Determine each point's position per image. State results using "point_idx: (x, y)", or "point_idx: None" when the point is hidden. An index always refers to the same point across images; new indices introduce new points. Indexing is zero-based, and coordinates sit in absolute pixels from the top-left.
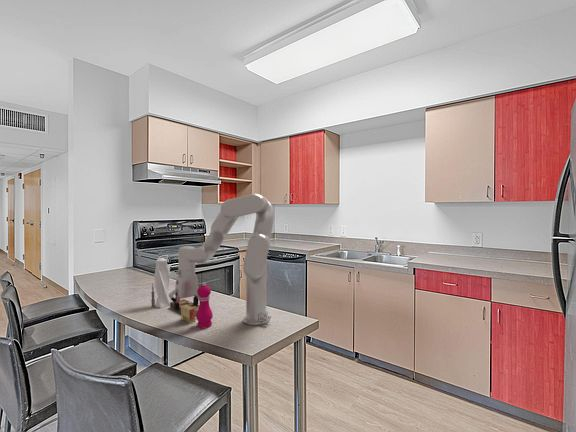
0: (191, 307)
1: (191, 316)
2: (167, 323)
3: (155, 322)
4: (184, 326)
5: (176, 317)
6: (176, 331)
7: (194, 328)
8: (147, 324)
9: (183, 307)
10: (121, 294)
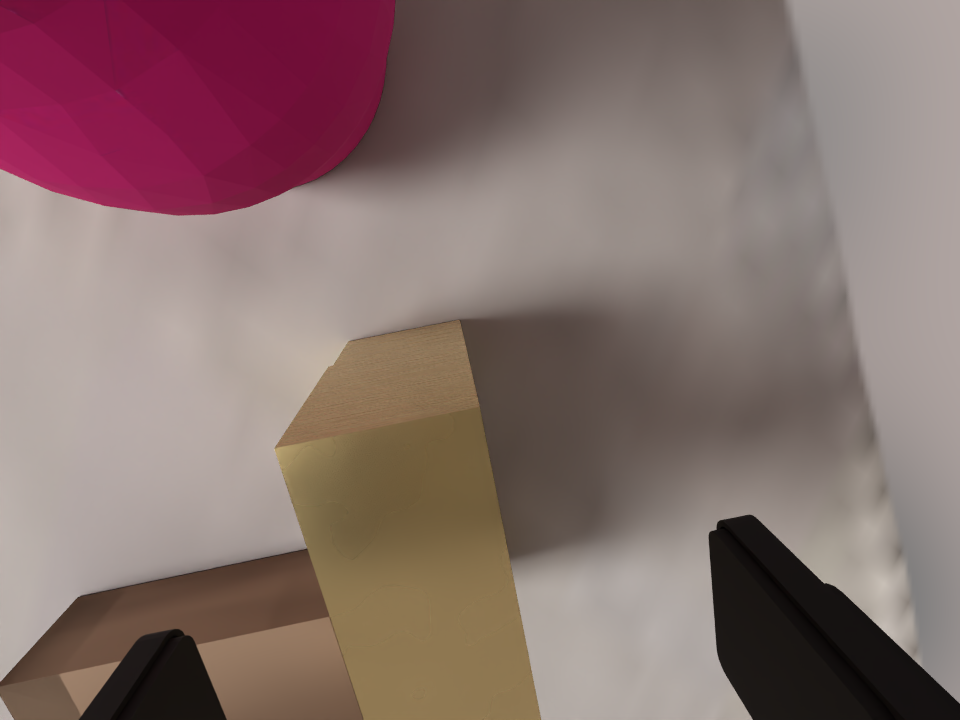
0: (355, 576)
1: (418, 358)
2: None
3: None
4: (567, 263)
5: None
6: (754, 127)
7: (460, 44)
8: (906, 633)
9: (533, 687)
10: None
